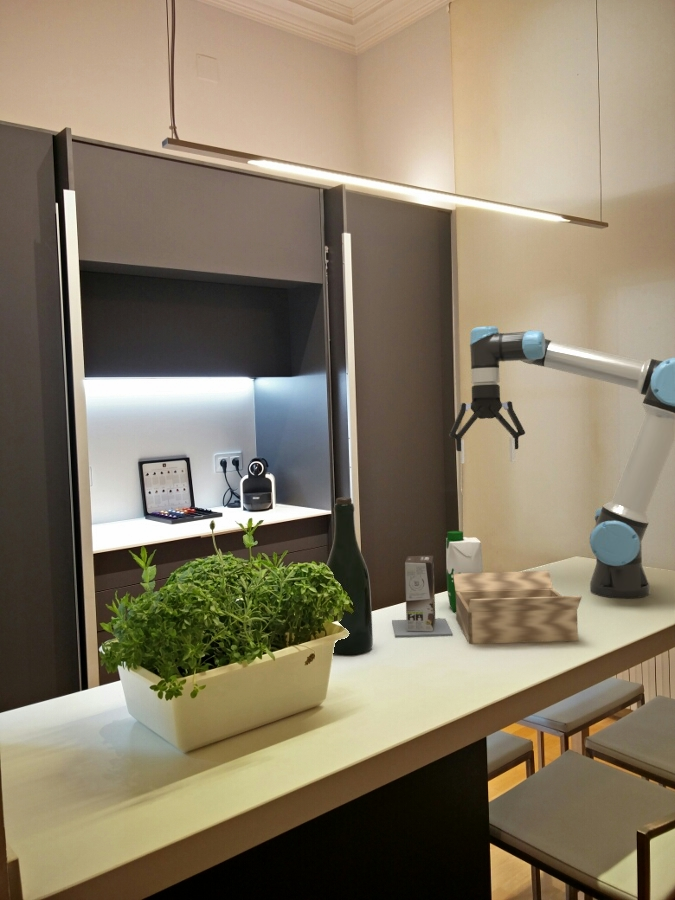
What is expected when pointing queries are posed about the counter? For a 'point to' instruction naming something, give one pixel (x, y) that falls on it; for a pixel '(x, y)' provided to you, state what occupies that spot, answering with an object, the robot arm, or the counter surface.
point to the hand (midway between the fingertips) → (487, 462)
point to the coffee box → (420, 593)
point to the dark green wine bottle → (351, 581)
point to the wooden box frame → (514, 608)
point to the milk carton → (461, 560)
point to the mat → (439, 630)
